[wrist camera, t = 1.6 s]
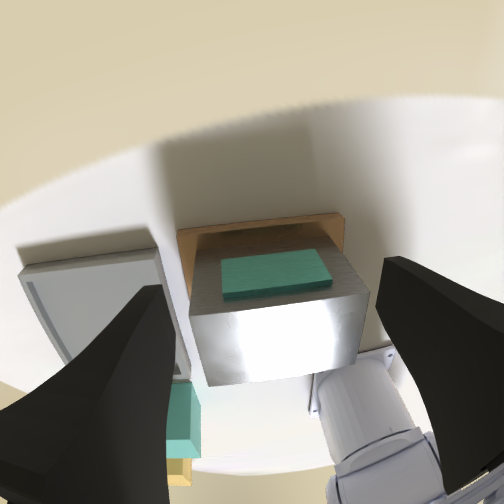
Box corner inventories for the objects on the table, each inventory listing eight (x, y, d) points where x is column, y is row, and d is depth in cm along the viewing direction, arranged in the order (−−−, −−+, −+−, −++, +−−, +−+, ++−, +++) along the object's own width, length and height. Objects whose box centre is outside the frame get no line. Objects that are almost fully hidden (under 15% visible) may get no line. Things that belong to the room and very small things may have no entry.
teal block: (200, 405, 27) (200, 457, 21) (162, 407, 26) (157, 457, 21) (191, 382, 25) (190, 439, 20) (149, 384, 25) (142, 439, 19)
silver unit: (332, 301, 22) (367, 371, 16) (197, 318, 21) (194, 398, 15) (338, 212, 19) (392, 269, 12) (178, 229, 18) (160, 299, 12)
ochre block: (191, 443, 31) (191, 485, 26) (160, 443, 31) (158, 484, 25) (183, 429, 29) (182, 475, 24) (150, 429, 29) (146, 473, 23)
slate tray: (191, 364, 24) (190, 378, 22) (79, 367, 23) (74, 379, 22) (158, 247, 18) (154, 259, 17) (26, 265, 18) (17, 275, 16)
